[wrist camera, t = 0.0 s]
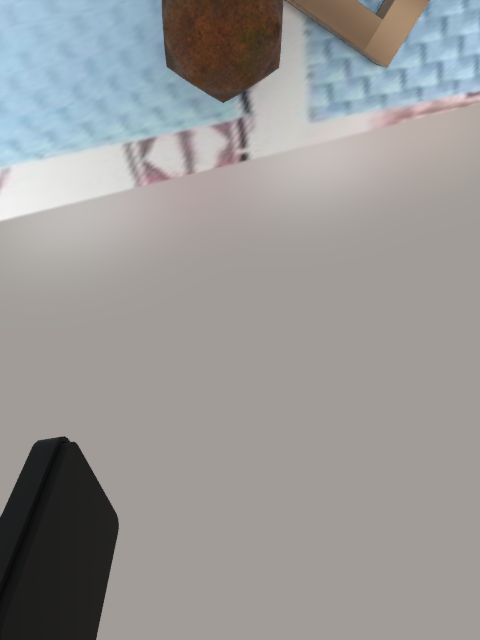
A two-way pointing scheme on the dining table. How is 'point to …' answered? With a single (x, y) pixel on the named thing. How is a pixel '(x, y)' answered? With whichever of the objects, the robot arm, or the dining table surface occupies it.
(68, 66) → the dining table surface
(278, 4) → the bolt
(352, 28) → the wooden peg holder
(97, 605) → the robot arm
